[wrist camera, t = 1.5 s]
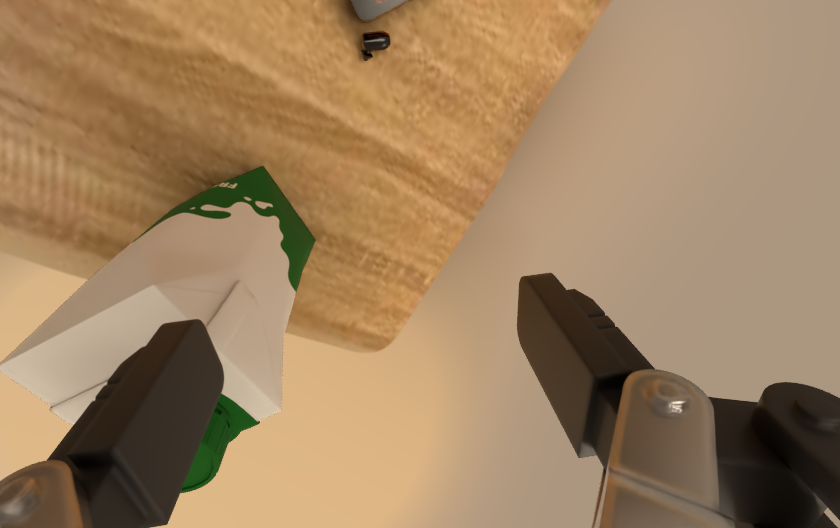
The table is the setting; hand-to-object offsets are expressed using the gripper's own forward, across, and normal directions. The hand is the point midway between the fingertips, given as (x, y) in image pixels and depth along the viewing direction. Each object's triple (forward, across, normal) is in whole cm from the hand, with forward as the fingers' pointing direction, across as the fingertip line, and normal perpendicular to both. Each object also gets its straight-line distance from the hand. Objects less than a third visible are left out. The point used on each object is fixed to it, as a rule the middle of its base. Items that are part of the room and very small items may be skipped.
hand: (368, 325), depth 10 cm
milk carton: (+23, +10, +6) cm, 26 cm away
